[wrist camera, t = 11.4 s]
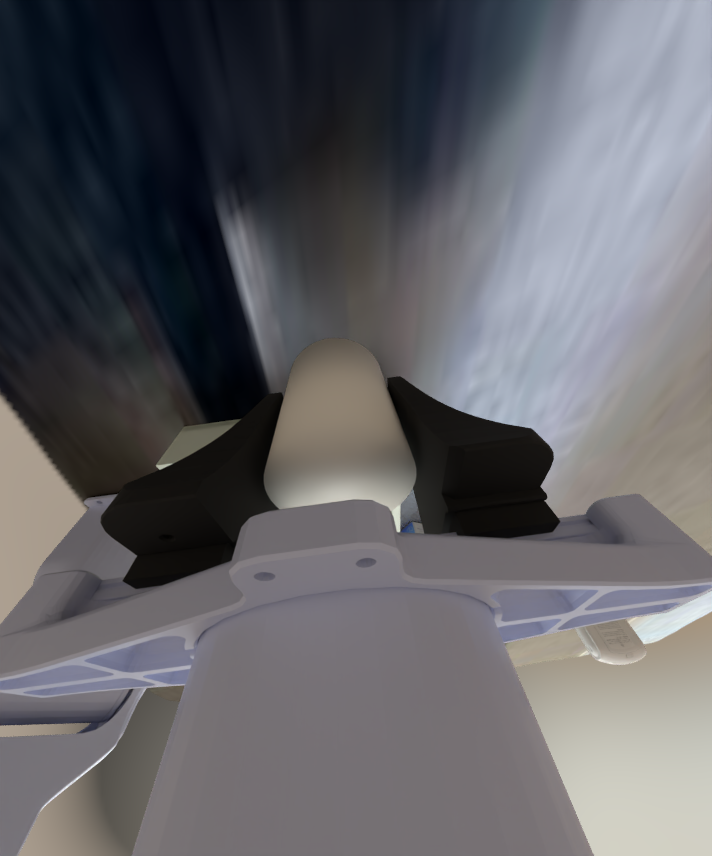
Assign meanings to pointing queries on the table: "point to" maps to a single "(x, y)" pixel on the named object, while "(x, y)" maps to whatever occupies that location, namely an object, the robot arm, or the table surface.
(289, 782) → the robot arm
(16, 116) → the table surface
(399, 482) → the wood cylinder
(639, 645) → the white rounded block
